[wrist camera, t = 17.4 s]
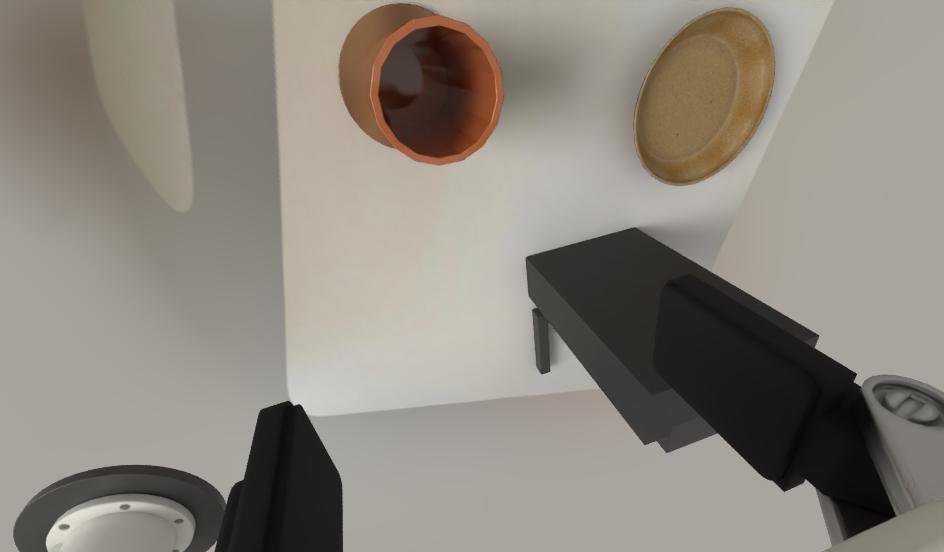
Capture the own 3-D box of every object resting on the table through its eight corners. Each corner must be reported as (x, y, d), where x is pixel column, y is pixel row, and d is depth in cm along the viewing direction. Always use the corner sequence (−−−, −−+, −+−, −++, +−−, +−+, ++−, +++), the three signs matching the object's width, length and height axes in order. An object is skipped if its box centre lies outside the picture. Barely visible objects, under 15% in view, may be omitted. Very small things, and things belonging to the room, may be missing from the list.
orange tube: (374, 137, 31) (390, 176, 21) (349, 38, 28) (352, 28, 18) (456, 121, 32) (508, 150, 22) (441, 23, 29) (495, 6, 19)
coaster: (360, 160, 32) (361, 161, 32) (319, 15, 27) (318, 14, 27) (477, 136, 34) (478, 136, 33) (458, -6, 29) (460, -7, 28)
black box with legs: (534, 367, 49) (633, 527, 33) (525, 257, 41) (651, 395, 24) (625, 337, 52) (762, 473, 35) (634, 227, 43) (820, 335, 27)
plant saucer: (758, -15, 34) (786, -20, 32) (745, 147, 42) (767, 152, 40) (608, 46, 33) (627, 45, 31) (624, 200, 41) (640, 208, 39)
